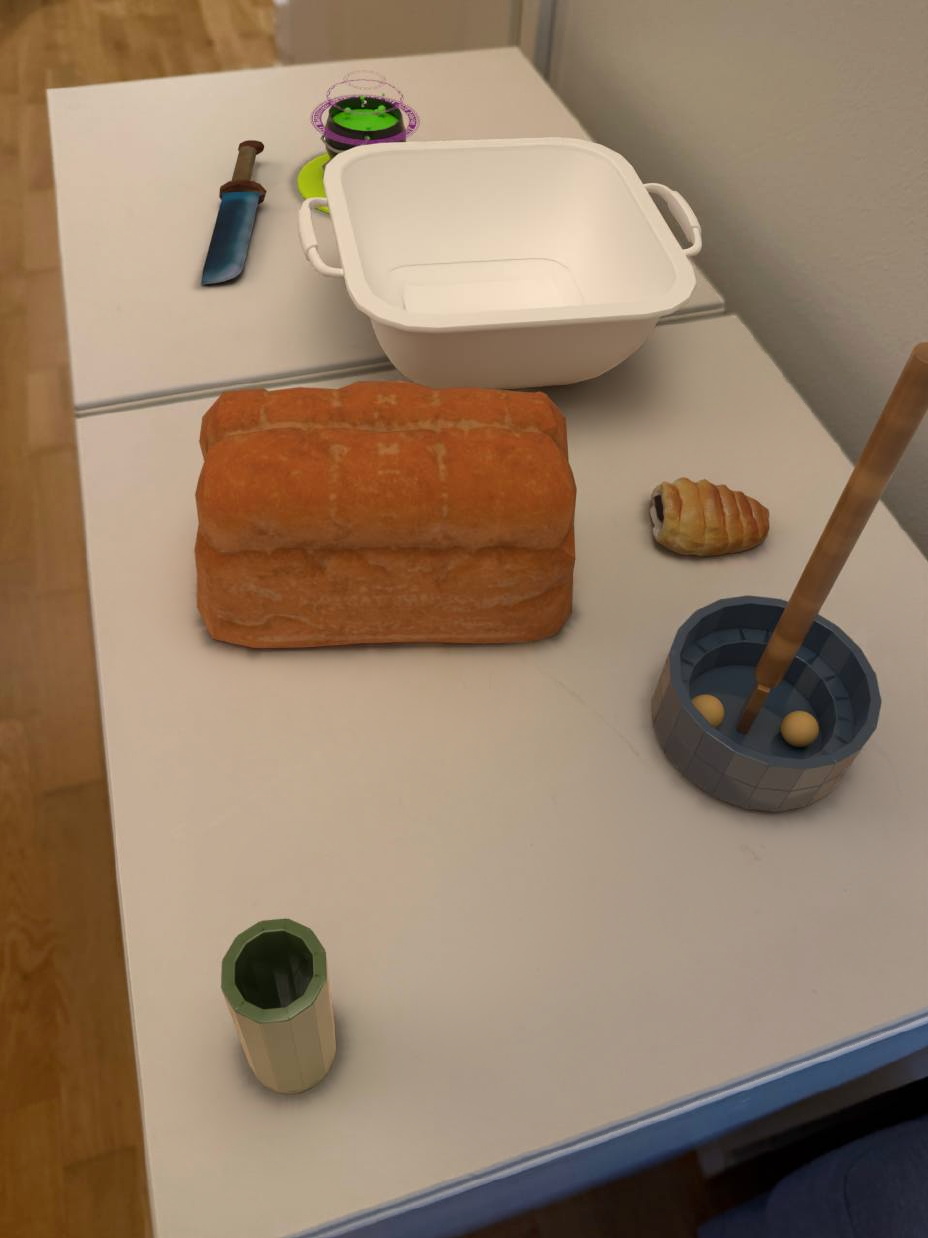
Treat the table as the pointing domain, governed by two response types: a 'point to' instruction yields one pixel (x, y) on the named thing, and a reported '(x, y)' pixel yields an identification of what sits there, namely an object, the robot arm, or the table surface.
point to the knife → (234, 218)
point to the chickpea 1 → (710, 709)
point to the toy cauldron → (353, 132)
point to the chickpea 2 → (799, 729)
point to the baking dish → (503, 257)
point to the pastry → (706, 518)
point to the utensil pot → (281, 1003)
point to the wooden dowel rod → (843, 527)
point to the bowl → (762, 760)
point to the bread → (384, 516)
